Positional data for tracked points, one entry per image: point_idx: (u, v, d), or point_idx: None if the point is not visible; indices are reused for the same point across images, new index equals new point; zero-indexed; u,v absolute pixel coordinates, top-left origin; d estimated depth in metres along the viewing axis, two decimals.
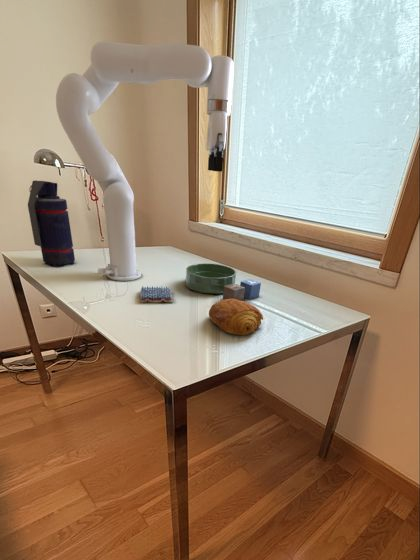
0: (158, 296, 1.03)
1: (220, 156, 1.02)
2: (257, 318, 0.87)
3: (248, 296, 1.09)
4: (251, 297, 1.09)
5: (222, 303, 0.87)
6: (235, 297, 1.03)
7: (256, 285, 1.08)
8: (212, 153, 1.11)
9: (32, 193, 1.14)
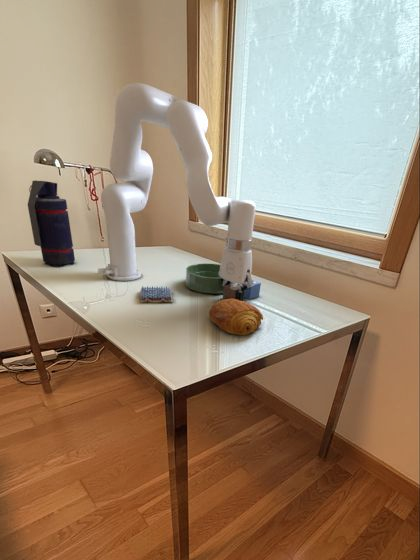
0: (158, 296, 1.03)
1: (244, 291, 1.02)
2: (257, 318, 0.87)
3: (248, 296, 1.09)
4: (251, 297, 1.09)
5: (222, 303, 0.87)
6: (235, 297, 1.03)
7: (256, 285, 1.08)
8: None
9: (32, 193, 1.14)
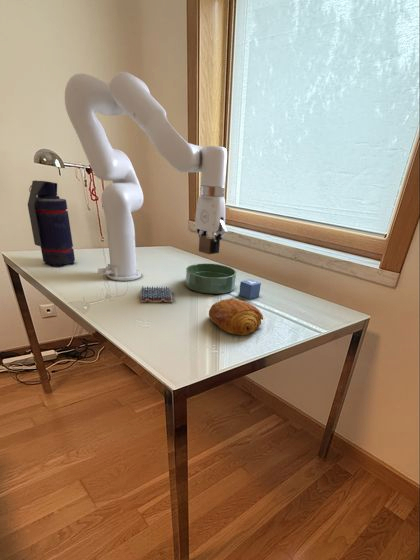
0: (158, 296, 1.03)
1: (219, 240, 1.05)
2: (257, 318, 0.87)
3: (248, 296, 1.09)
4: (251, 297, 1.09)
5: (222, 303, 0.87)
6: (210, 246, 1.05)
7: (256, 285, 1.08)
8: (202, 233, 1.08)
9: (32, 193, 1.14)
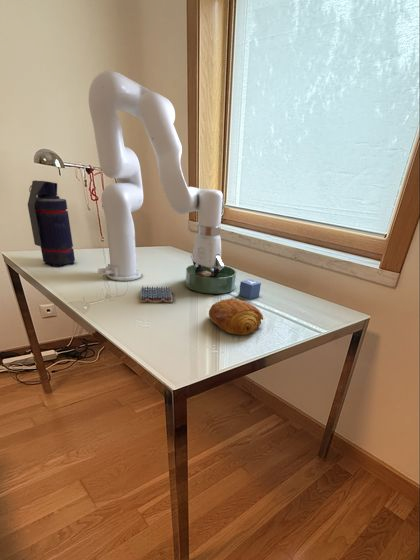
0: (158, 296, 1.03)
1: (217, 274, 1.10)
2: (257, 318, 0.87)
3: (248, 296, 1.09)
4: (251, 297, 1.09)
5: (222, 303, 0.87)
6: None
7: (256, 285, 1.08)
8: None
9: (32, 193, 1.14)
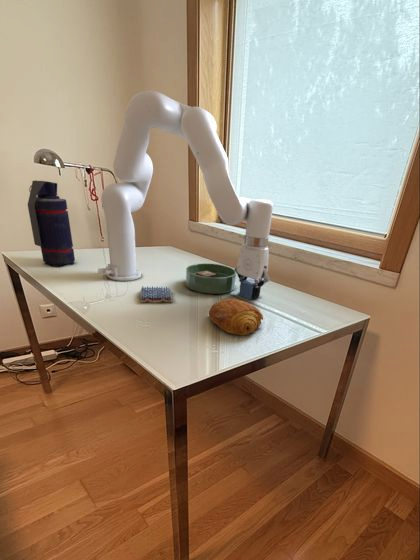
0: (158, 296, 1.03)
1: (260, 286, 1.08)
2: (257, 318, 0.87)
3: (248, 296, 1.09)
4: (251, 297, 1.09)
5: (222, 303, 0.87)
6: None
7: None
8: None
9: (32, 193, 1.14)
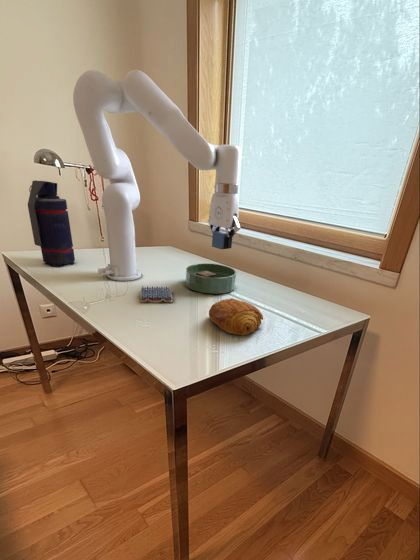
0: (158, 296, 1.03)
1: (232, 236, 1.09)
2: (257, 318, 0.87)
3: (220, 246, 1.10)
4: (223, 247, 1.10)
5: (222, 303, 0.87)
6: None
7: None
8: None
9: (32, 193, 1.14)
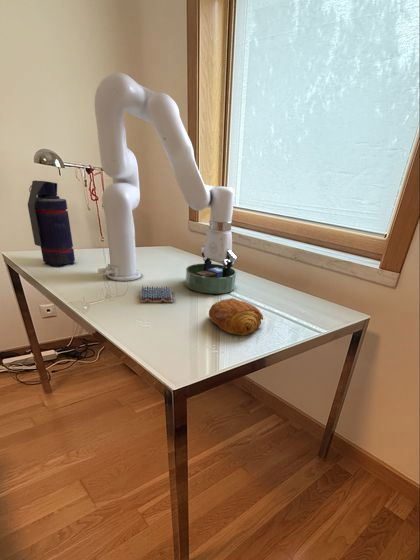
0: (158, 296, 1.03)
1: (229, 267, 1.13)
2: (257, 318, 0.87)
3: None
4: None
5: (222, 303, 0.87)
6: None
7: None
8: (206, 257, 1.19)
9: (32, 193, 1.14)
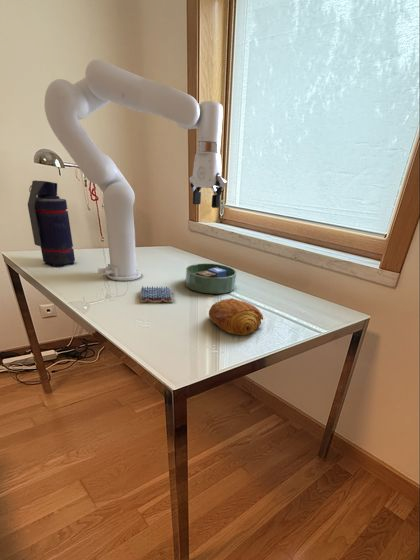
0: (158, 296, 1.03)
1: (219, 194, 1.07)
2: (257, 318, 0.87)
3: None
4: None
5: (222, 303, 0.87)
6: None
7: (222, 272, 1.17)
8: None
9: (32, 193, 1.14)
